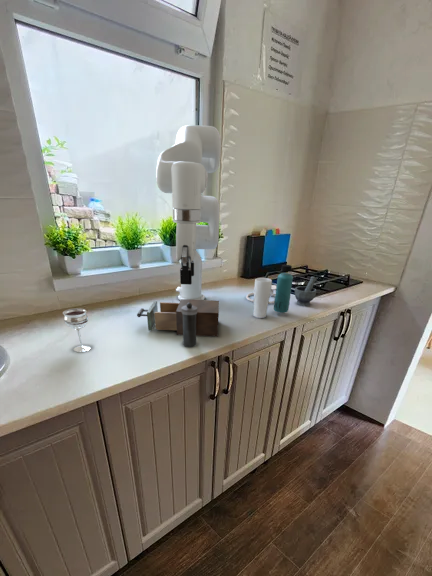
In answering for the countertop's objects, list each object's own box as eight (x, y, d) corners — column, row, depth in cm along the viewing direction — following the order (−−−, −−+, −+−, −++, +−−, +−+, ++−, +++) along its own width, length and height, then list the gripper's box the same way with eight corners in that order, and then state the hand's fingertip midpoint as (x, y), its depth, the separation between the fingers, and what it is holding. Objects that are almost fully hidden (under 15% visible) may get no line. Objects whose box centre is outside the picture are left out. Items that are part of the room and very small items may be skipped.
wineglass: (70, 345, 103) (62, 309, 97) (92, 343, 106) (85, 307, 100) (71, 354, 98) (62, 316, 92) (94, 351, 101) (87, 314, 94)
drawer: (135, 330, 114) (133, 311, 111) (143, 317, 126) (142, 300, 122) (186, 332, 114) (185, 313, 111) (189, 319, 126) (189, 302, 122)
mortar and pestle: (305, 308, 145) (310, 281, 139) (288, 303, 151) (292, 277, 145) (319, 303, 152) (324, 277, 146) (302, 299, 158) (306, 274, 152)
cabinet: (176, 334, 114) (176, 311, 110) (181, 320, 127) (180, 299, 122) (217, 336, 114) (218, 313, 110) (218, 322, 127) (219, 300, 122)
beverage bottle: (288, 312, 140) (296, 264, 129) (286, 317, 134) (294, 267, 124) (274, 310, 141) (280, 262, 131) (271, 315, 136) (277, 265, 126)
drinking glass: (267, 319, 131) (271, 282, 123) (250, 318, 132) (254, 281, 124) (268, 314, 136) (272, 278, 128) (252, 313, 137) (255, 277, 130)
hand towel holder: (239, 290, 152) (261, 282, 166) (239, 299, 154) (261, 291, 168) (271, 297, 143) (291, 288, 157) (270, 306, 145) (290, 297, 160)
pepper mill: (179, 344, 107) (177, 302, 100) (188, 340, 111) (188, 299, 103) (190, 348, 105) (190, 306, 97) (200, 344, 108) (200, 302, 101)
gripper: (176, 213, 95) (178, 272, 105) (168, 218, 81) (171, 287, 90) (202, 214, 95) (201, 273, 105) (198, 220, 81) (198, 288, 90)
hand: (187, 279), depth 97 cm, fingers open, 9 cm apart
